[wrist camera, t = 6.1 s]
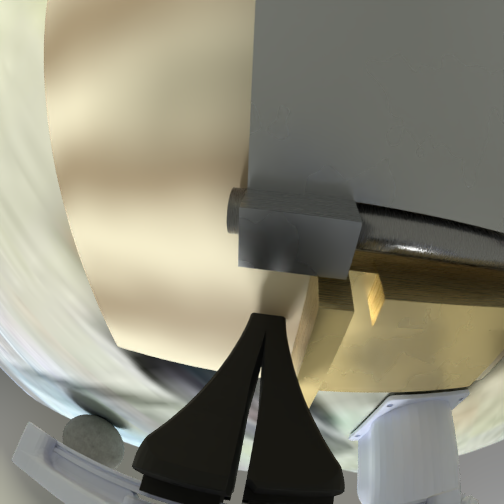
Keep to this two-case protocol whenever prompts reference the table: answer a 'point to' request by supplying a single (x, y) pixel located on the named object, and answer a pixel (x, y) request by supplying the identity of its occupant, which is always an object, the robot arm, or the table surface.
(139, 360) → the table surface
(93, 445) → the decorative ball
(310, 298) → the loose leaf
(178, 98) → the board
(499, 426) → the table surface
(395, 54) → the fixed leaf
